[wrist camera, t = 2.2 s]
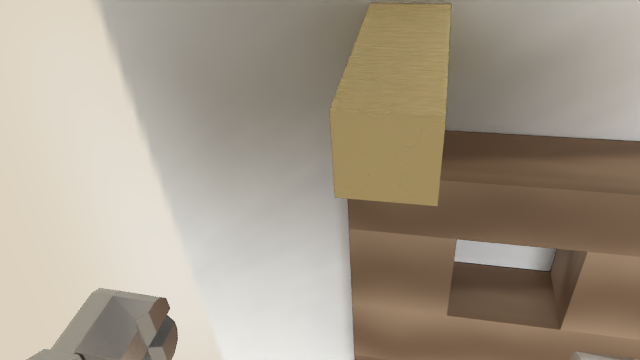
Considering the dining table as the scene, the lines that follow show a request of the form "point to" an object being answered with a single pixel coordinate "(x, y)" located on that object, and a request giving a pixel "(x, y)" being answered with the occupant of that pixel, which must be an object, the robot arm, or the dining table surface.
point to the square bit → (393, 106)
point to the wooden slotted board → (506, 228)
